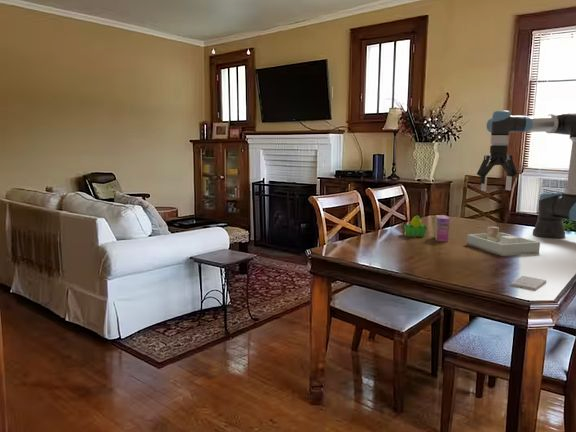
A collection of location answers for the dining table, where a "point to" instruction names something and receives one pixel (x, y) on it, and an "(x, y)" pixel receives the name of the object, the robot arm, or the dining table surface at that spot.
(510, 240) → the grey cube
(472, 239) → the tote
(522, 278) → the external hard drive
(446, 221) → the box
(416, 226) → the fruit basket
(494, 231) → the beech cylinder
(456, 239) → the dining table surface
